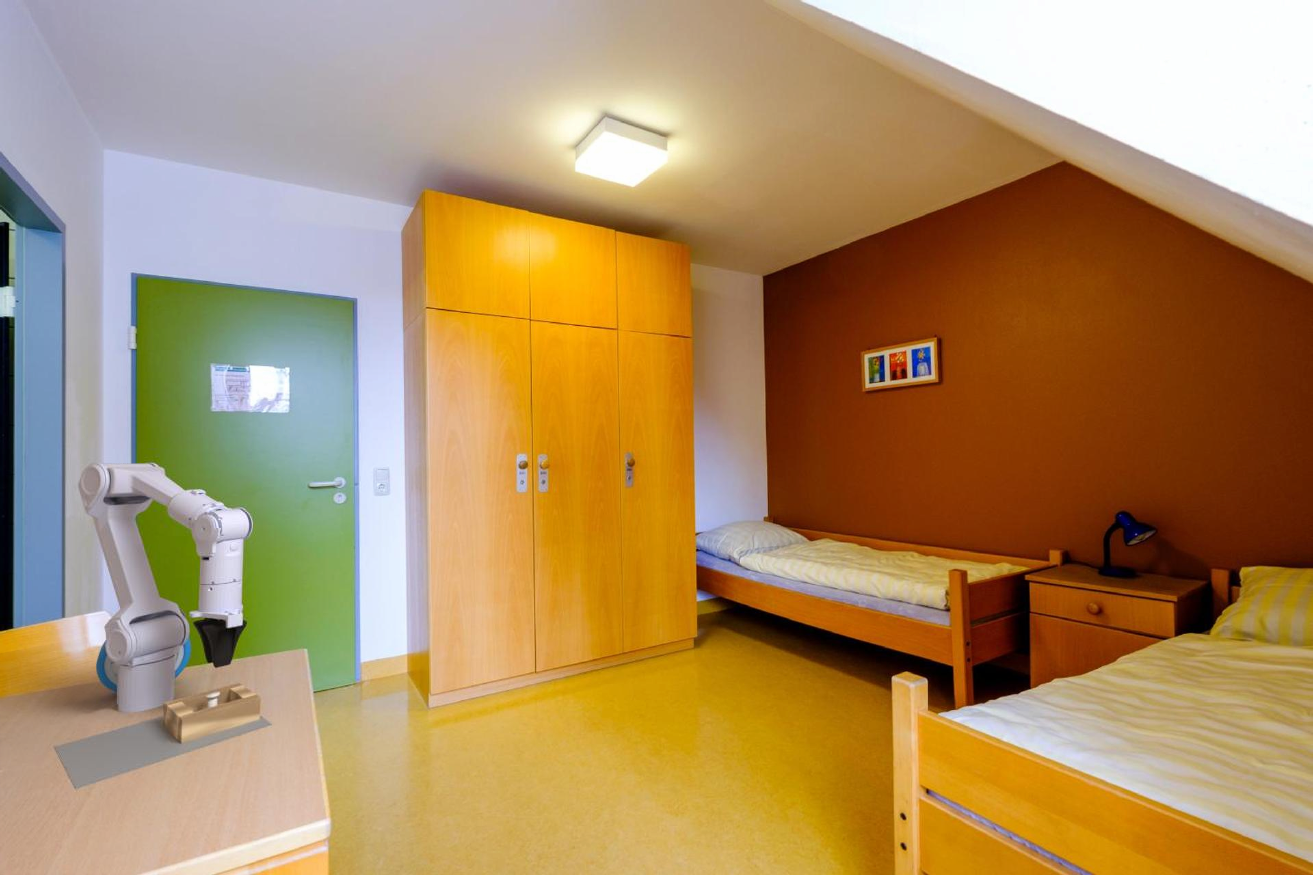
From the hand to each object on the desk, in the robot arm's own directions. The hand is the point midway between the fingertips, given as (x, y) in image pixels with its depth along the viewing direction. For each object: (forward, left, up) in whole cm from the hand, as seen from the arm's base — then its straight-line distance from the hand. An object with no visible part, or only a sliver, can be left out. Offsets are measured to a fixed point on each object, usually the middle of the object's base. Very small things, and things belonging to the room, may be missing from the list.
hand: (218, 663), depth 94 cm
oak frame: (+3, -2, -8) cm, 9 cm away
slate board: (+3, -7, -9) cm, 12 cm away
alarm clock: (-27, -4, -10) cm, 29 cm away
